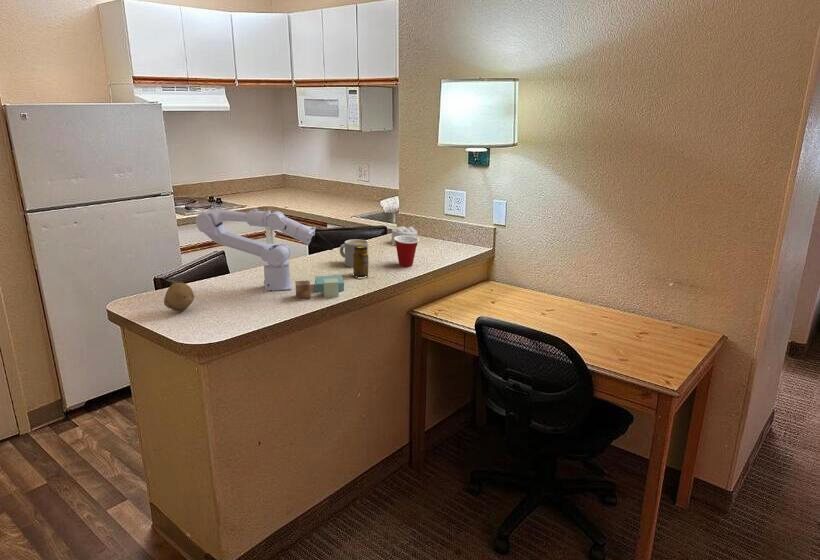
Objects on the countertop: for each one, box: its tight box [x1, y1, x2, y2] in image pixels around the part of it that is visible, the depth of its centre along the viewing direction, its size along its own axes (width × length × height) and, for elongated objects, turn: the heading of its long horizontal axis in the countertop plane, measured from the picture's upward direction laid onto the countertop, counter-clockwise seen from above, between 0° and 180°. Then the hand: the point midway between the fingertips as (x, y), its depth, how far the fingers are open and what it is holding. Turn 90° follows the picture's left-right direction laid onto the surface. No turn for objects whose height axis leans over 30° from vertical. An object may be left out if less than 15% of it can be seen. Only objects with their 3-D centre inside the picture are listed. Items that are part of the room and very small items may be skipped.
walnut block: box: [294, 280, 312, 300], centre depth 205 cm, size 5×5×6 cm
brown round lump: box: [163, 282, 195, 312], centre depth 189 cm, size 9×9×10 cm
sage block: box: [323, 278, 340, 298], centre depth 208 cm, size 5×5×6 cm
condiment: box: [349, 245, 375, 280], centre depth 231 cm, size 7×8×12 cm
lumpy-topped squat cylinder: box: [391, 225, 418, 245], centre depth 282 cm, size 10×13×9 cm
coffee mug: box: [339, 238, 369, 268], centre depth 248 cm, size 13×10×10 cm
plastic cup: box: [394, 236, 420, 268], centre depth 246 cm, size 11×11×12 cm
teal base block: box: [314, 274, 345, 293], centre depth 217 cm, size 10×10×4 cm
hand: (332, 247), depth 210 cm, fingers open, 7 cm apart
